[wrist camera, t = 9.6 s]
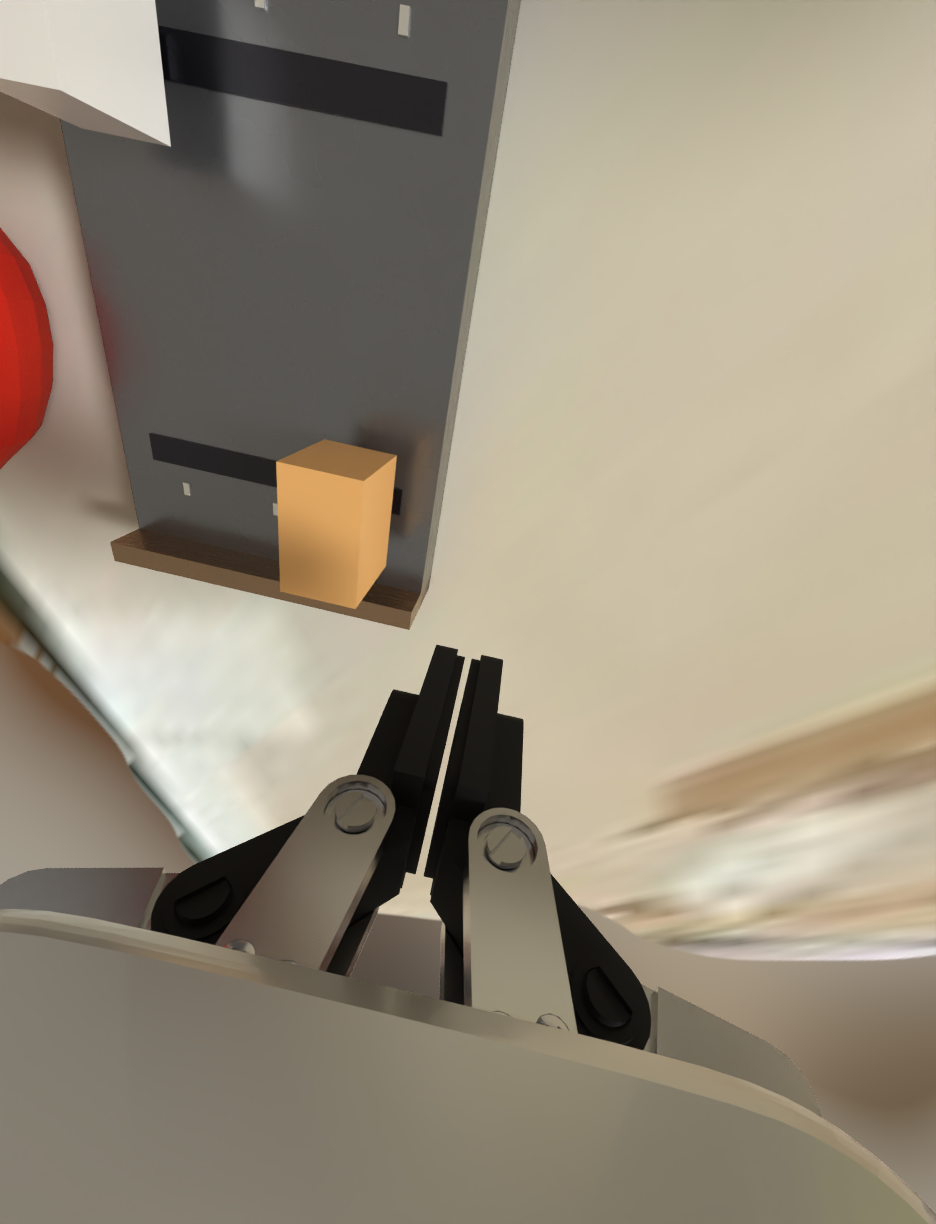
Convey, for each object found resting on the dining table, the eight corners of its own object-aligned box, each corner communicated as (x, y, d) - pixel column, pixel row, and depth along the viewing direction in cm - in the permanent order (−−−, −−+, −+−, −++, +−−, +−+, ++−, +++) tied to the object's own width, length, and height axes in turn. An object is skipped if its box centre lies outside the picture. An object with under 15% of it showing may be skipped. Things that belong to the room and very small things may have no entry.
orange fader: (405, 448, 20) (363, 481, 16) (394, 554, 23) (355, 609, 18) (337, 433, 20) (276, 461, 16) (334, 540, 23) (280, 591, 18)
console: (535, -99, 14) (531, -256, 10) (428, 588, 27) (409, 629, 23) (66, -184, 15) (-101, -365, 11) (174, 529, 27) (114, 560, 23)
